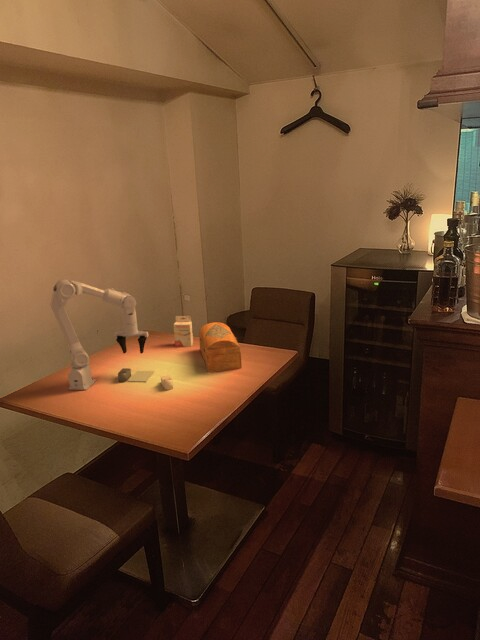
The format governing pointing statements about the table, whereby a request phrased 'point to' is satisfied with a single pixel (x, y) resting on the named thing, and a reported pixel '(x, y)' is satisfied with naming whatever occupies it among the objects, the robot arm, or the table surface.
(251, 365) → the table surface
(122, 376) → the tan-capped grey bottle
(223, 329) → the wooden box
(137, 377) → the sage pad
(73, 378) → the robot arm
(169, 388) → the ivory plug
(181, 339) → the ink cartridge box
